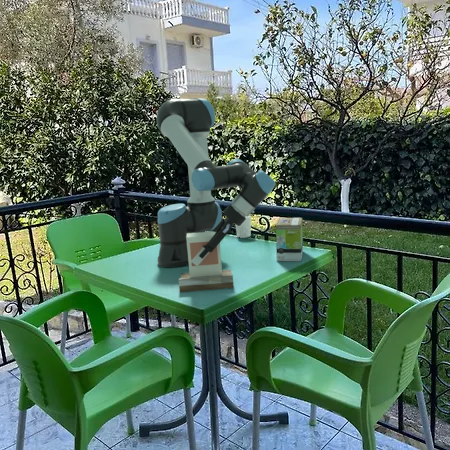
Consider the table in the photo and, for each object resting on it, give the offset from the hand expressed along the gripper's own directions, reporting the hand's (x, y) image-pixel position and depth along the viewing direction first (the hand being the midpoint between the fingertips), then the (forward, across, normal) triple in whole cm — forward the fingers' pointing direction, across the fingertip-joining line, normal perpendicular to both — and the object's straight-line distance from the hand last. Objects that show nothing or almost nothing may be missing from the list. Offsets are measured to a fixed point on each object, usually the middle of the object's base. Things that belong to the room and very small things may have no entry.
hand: (194, 260), depth 153 cm
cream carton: (+1, 0, -6) cm, 6 cm away
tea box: (-20, +25, -33) cm, 46 cm away
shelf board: (+3, 0, -8) cm, 9 cm away
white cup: (-9, +66, -22) cm, 70 cm away
